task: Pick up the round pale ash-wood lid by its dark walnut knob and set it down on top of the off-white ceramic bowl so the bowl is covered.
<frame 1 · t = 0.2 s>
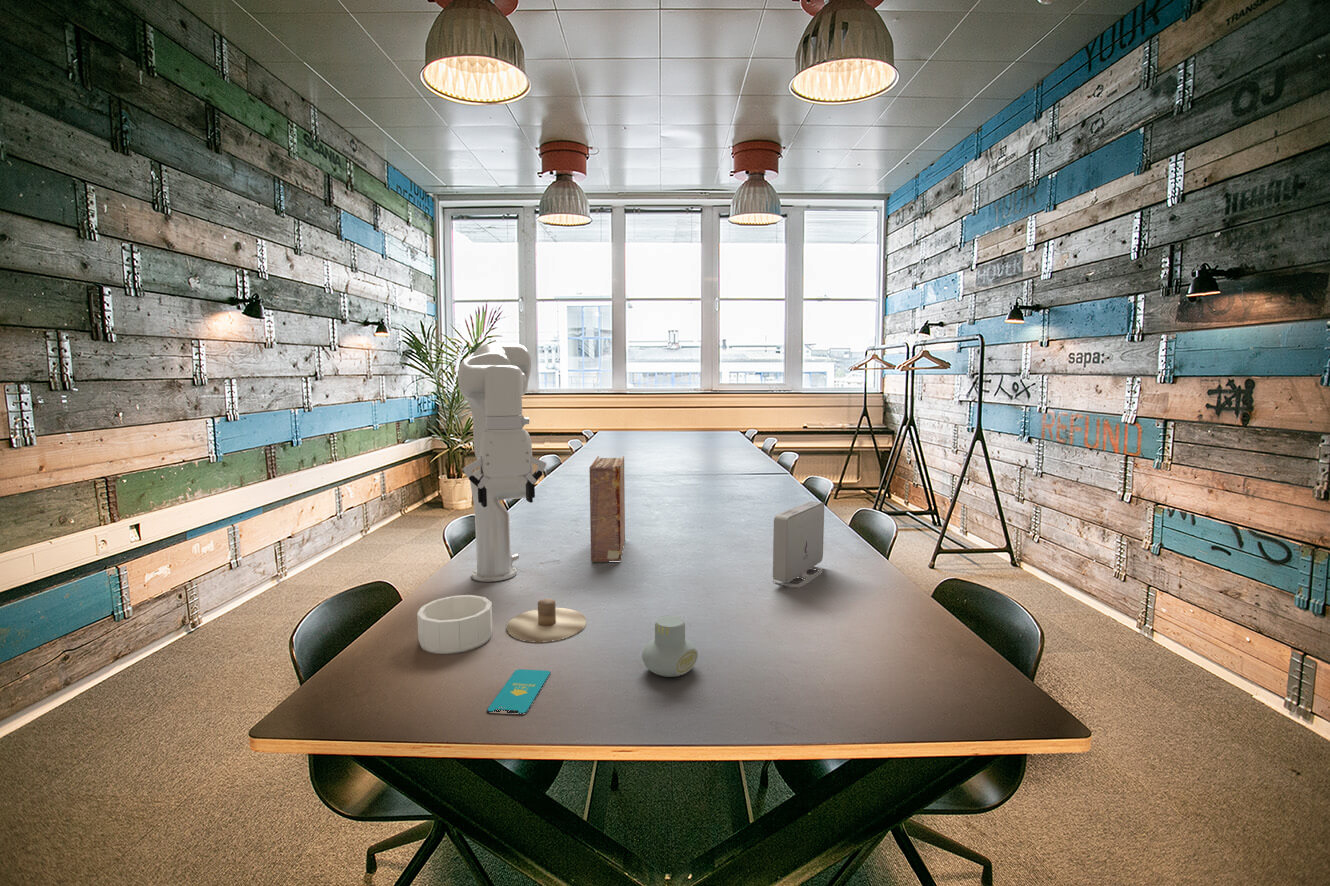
hand: (507, 503, 128), 30 cm above the table, tool pointing down, fingers open, 9 cm apart
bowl: (456, 638, 131), on the table
smartphone: (520, 694, 109), on the table
book: (609, 551, 196), on the table
network device: (798, 577, 171), on the table
air freshener: (670, 670, 117), on the table
lid: (547, 626, 138), on the table
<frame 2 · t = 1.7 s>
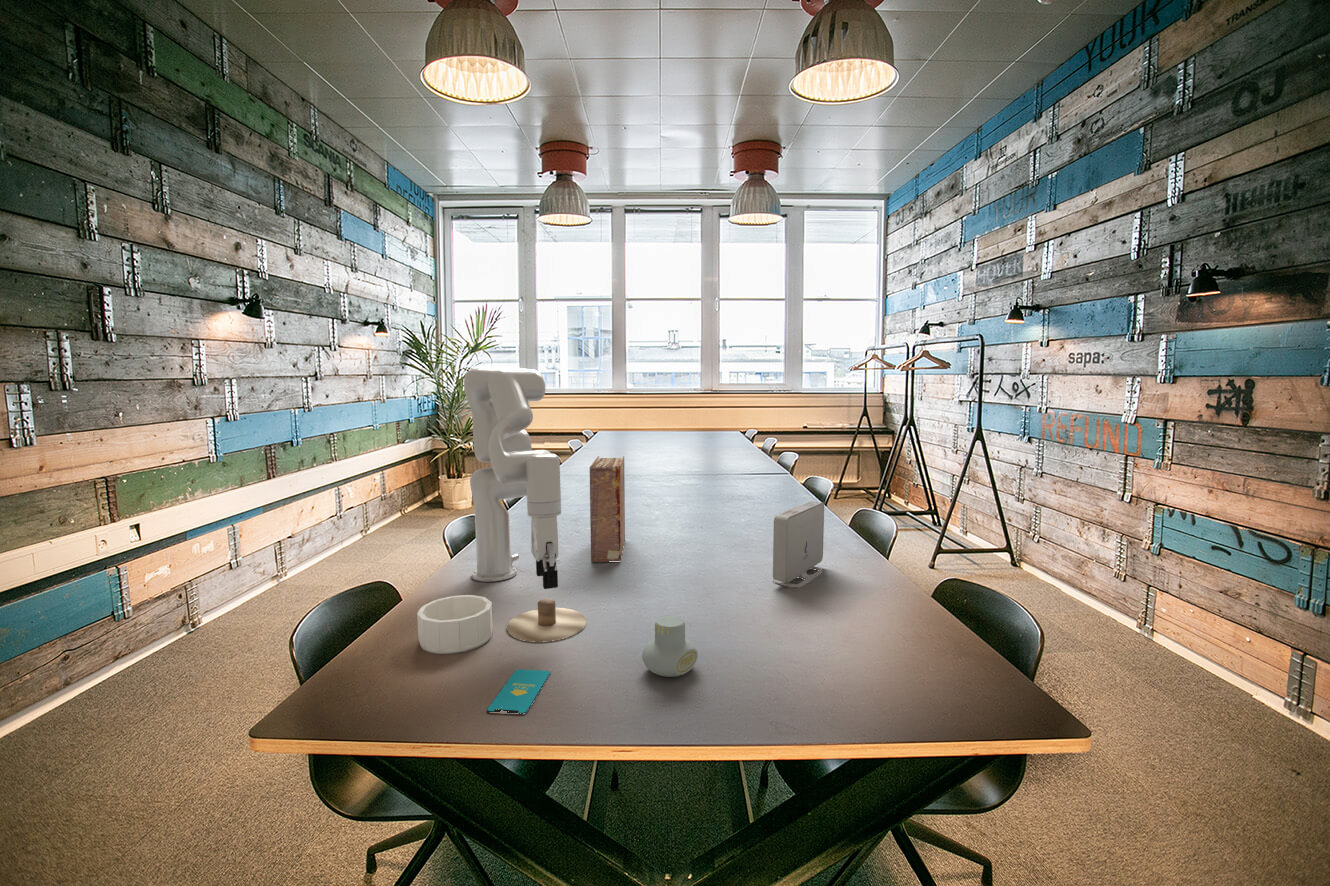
hand: (546, 581, 136), 11 cm above the table, tool pointing down, fingers open, 9 cm apart
nothing on the table moved.
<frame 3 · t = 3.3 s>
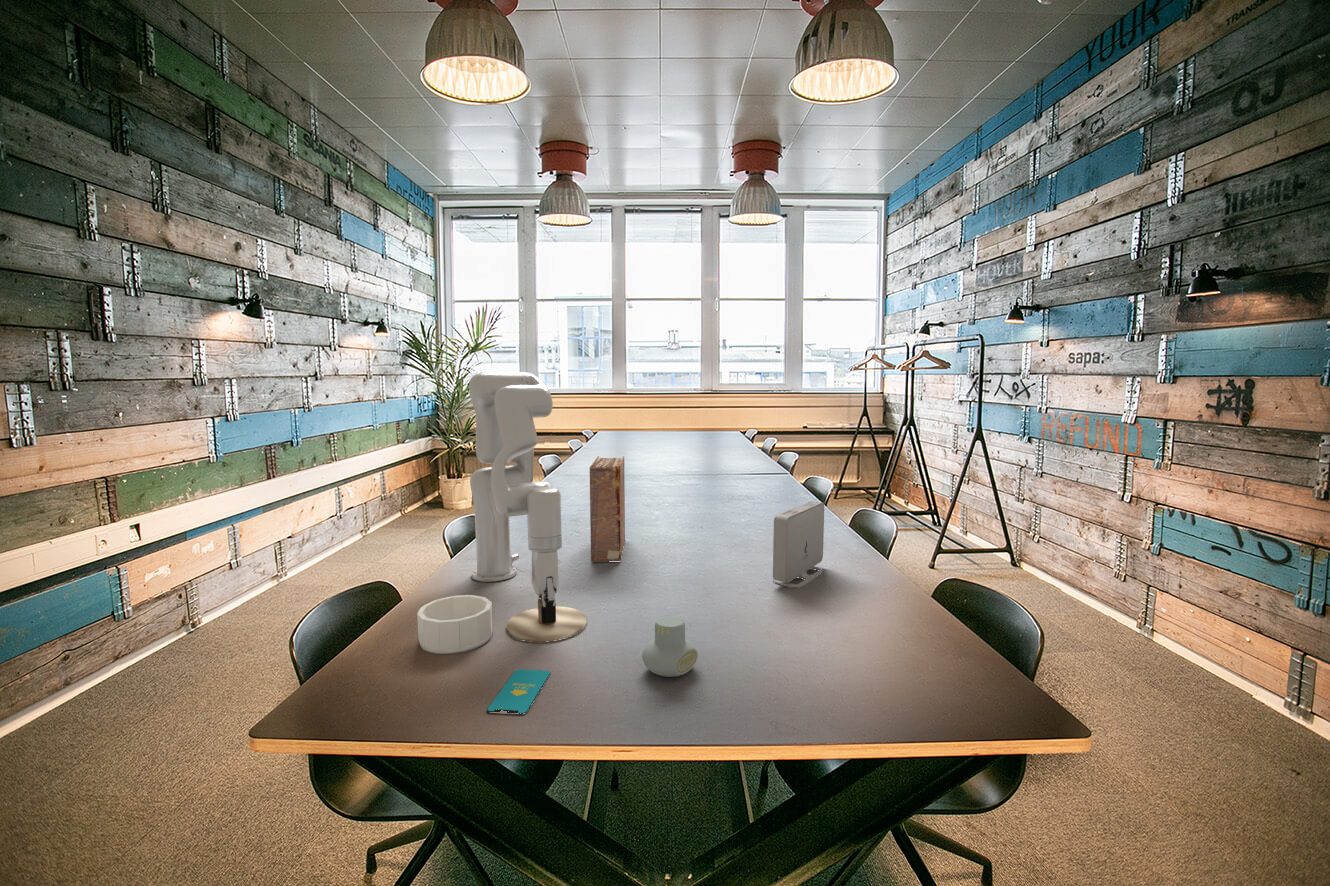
hand: (547, 617, 138), 2 cm above the table, tool pointing down, fingers closed on lid, 4 cm apart
lid: (547, 625, 138), on the table, touching gripper
everything else where it was.
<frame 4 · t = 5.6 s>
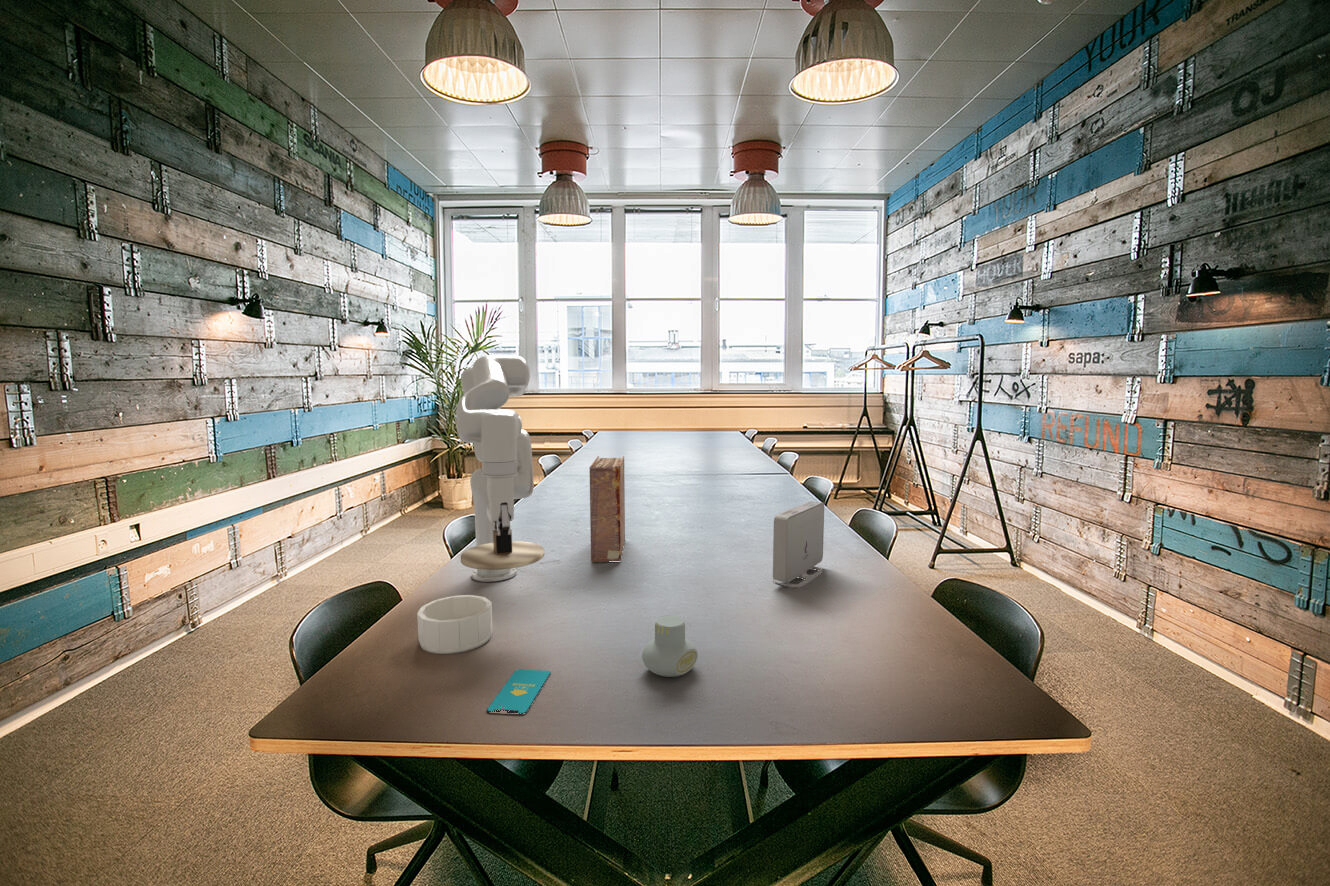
hand: (502, 548, 133), 19 cm above the table, tool pointing down, fingers closed on lid, 4 cm apart
lid: (503, 556, 133), point 17 cm above the table, touching gripper
everything else where it was.
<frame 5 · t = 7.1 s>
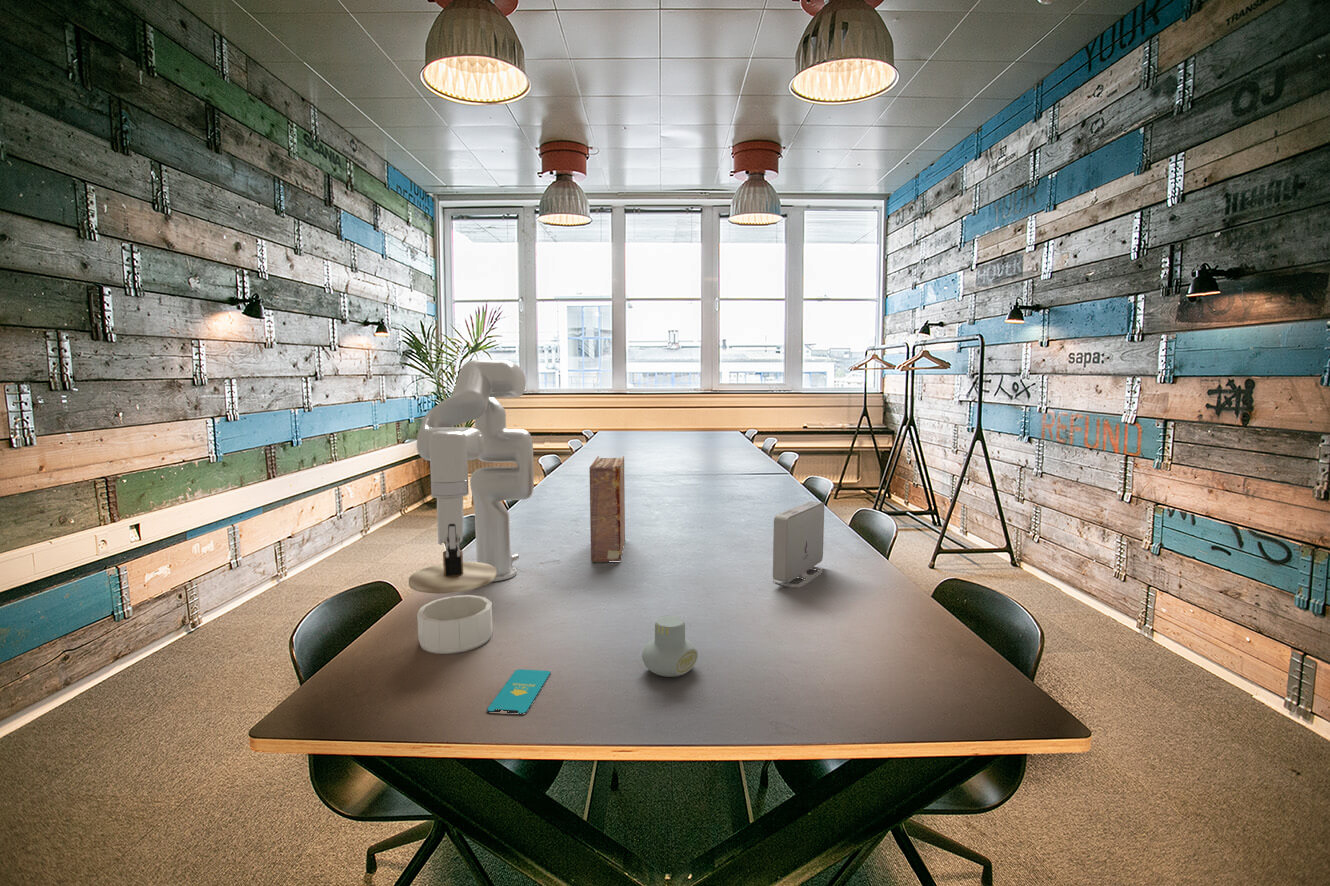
hand: (453, 570, 129), 15 cm above the table, tool pointing down, fingers closed on lid, 4 cm apart
lid: (453, 578, 129), point 14 cm above the table, touching gripper
everything else where it was.
when the fingers open (10 cm above the table, at t = 8.3 s): lid drops 1 cm, resting on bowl.
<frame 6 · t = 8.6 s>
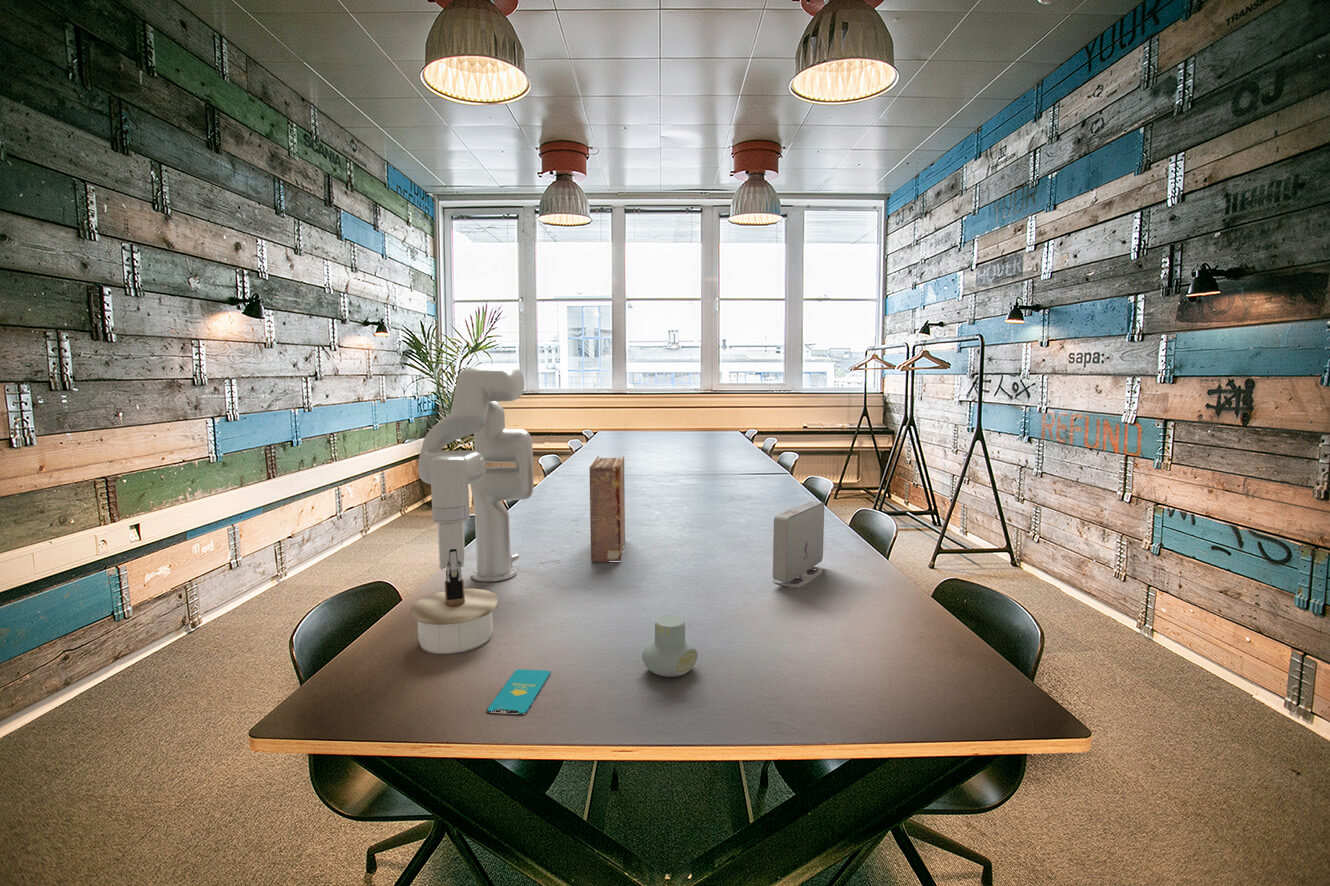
hand: (454, 592, 130), 11 cm above the table, tool pointing down, fingers open, 7 cm apart
lid: (455, 607, 130), point 7 cm above the table, touching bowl
everything else where it was.
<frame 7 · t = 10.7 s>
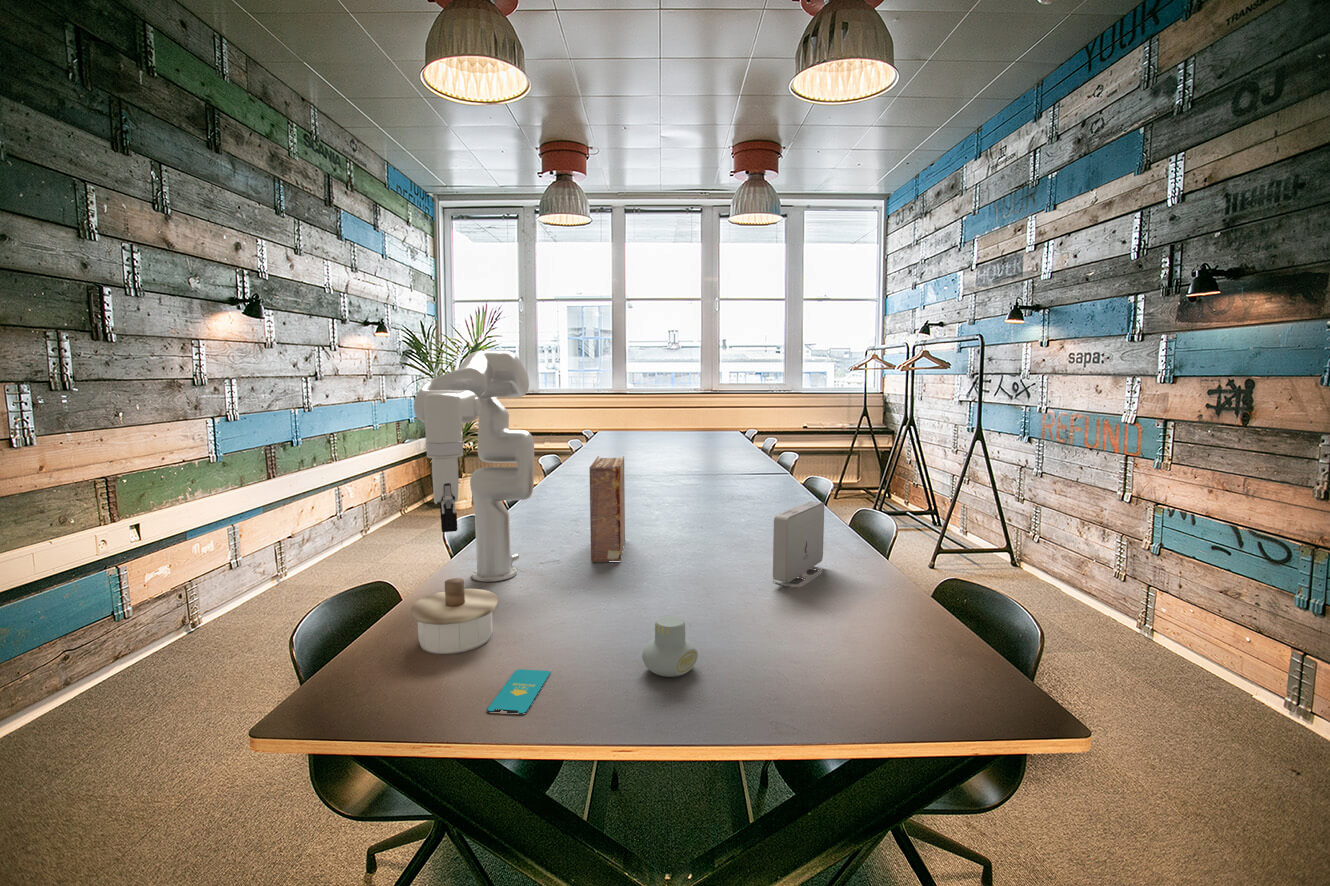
hand: (448, 525, 132), 24 cm above the table, tool pointing down, fingers open, 9 cm apart
nothing on the table moved.
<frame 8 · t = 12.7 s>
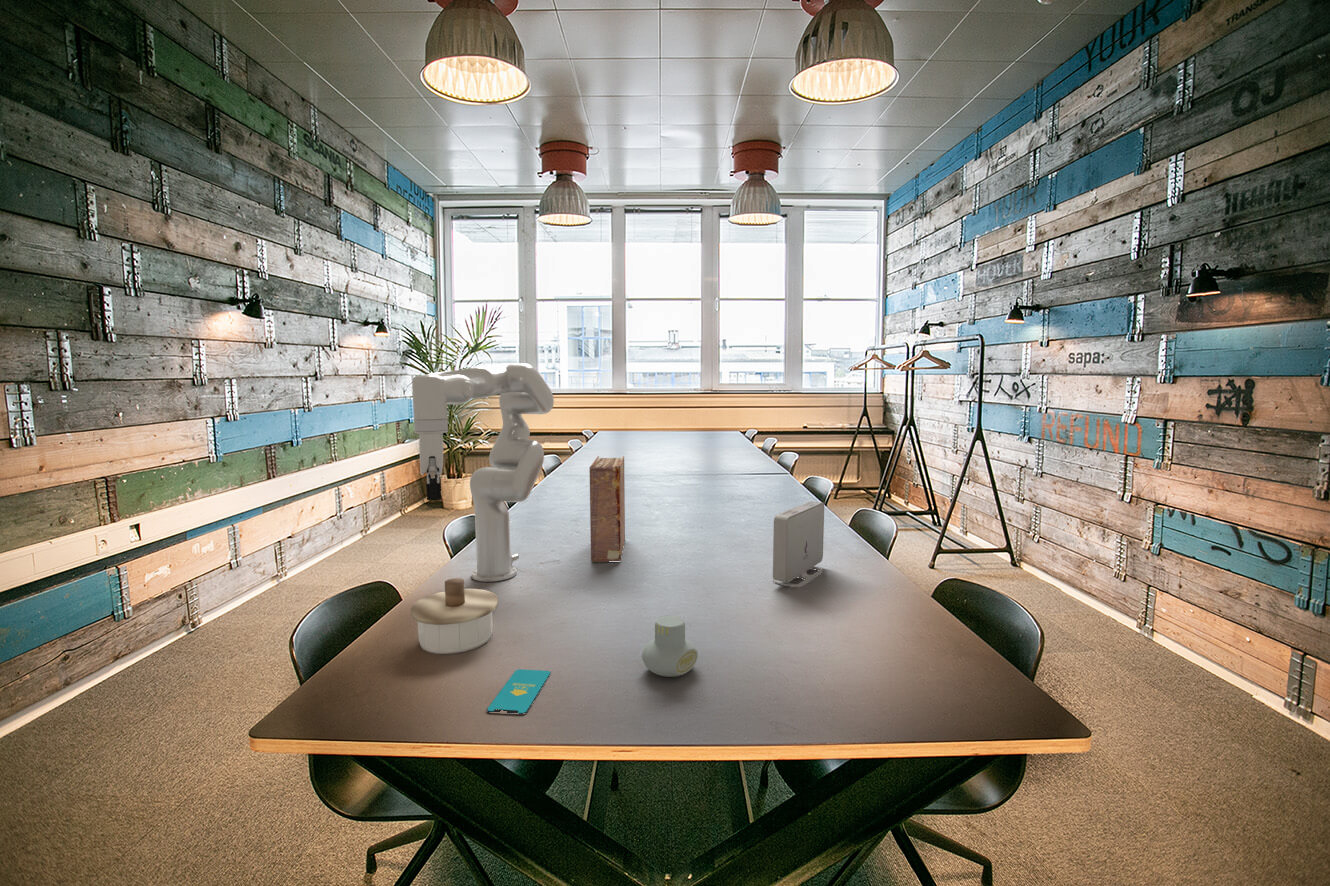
hand: (434, 496, 146), 28 cm above the table, tool pointing down, fingers open, 9 cm apart
nothing on the table moved.
at the end: lid 0.1 cm off-centre on the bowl, point 7.0 cm above the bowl's base; lid tilted 0°; the gripper is holding nothing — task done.
